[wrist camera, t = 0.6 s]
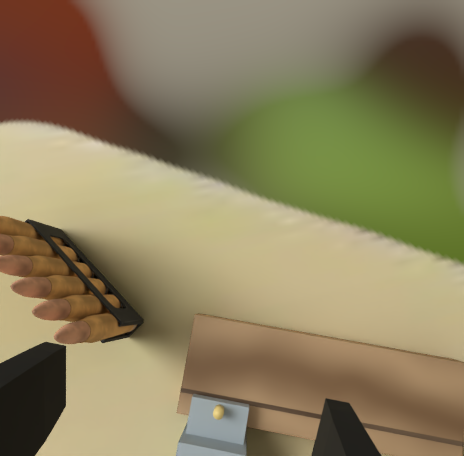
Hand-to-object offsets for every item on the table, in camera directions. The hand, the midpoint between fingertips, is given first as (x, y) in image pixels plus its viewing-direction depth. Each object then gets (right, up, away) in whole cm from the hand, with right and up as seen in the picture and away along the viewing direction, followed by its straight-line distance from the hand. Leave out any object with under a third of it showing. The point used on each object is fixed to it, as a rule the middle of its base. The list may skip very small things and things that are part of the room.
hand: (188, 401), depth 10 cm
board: (+8, -7, +19) cm, 22 cm away
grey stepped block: (0, -11, +19) cm, 22 cm away
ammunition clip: (-10, 0, +21) cm, 24 cm away
